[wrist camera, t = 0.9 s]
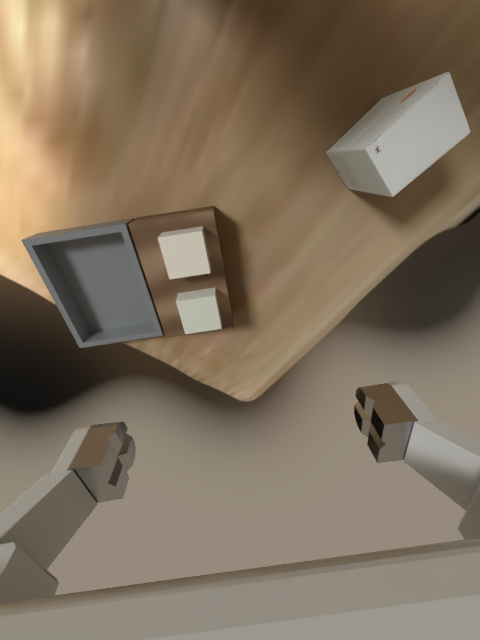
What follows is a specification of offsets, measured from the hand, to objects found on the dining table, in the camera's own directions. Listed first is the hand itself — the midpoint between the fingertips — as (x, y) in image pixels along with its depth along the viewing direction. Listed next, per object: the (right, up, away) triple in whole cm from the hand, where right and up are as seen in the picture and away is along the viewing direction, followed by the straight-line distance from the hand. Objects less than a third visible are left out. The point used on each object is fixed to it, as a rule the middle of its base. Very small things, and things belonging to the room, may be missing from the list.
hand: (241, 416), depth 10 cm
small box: (+15, +24, +24) cm, 37 cm away
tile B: (-6, +5, +28) cm, 29 cm away
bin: (-19, +9, +30) cm, 36 cm away
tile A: (-7, +12, +24) cm, 28 cm away
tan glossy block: (-7, +10, +30) cm, 32 cm away
